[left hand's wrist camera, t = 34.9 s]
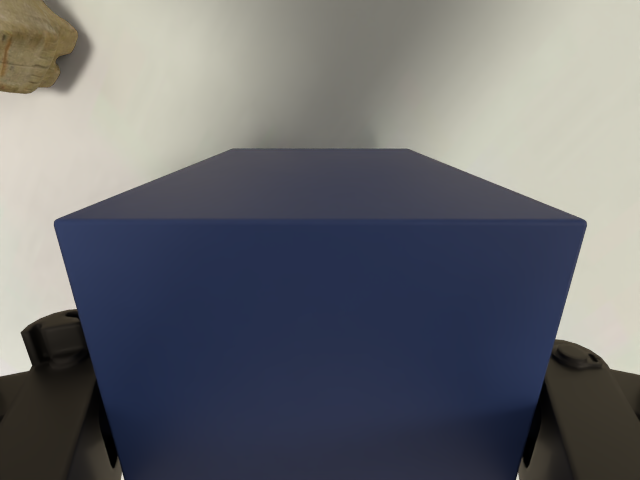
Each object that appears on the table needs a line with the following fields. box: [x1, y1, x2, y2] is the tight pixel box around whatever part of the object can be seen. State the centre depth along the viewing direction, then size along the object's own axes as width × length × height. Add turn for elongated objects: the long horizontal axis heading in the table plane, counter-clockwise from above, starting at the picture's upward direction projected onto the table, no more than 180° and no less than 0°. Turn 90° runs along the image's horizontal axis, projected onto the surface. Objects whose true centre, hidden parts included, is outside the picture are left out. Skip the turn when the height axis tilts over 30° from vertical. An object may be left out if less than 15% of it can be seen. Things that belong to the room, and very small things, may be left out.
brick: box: [54, 149, 587, 480], centre depth 11 cm, size 7×9×10 cm
